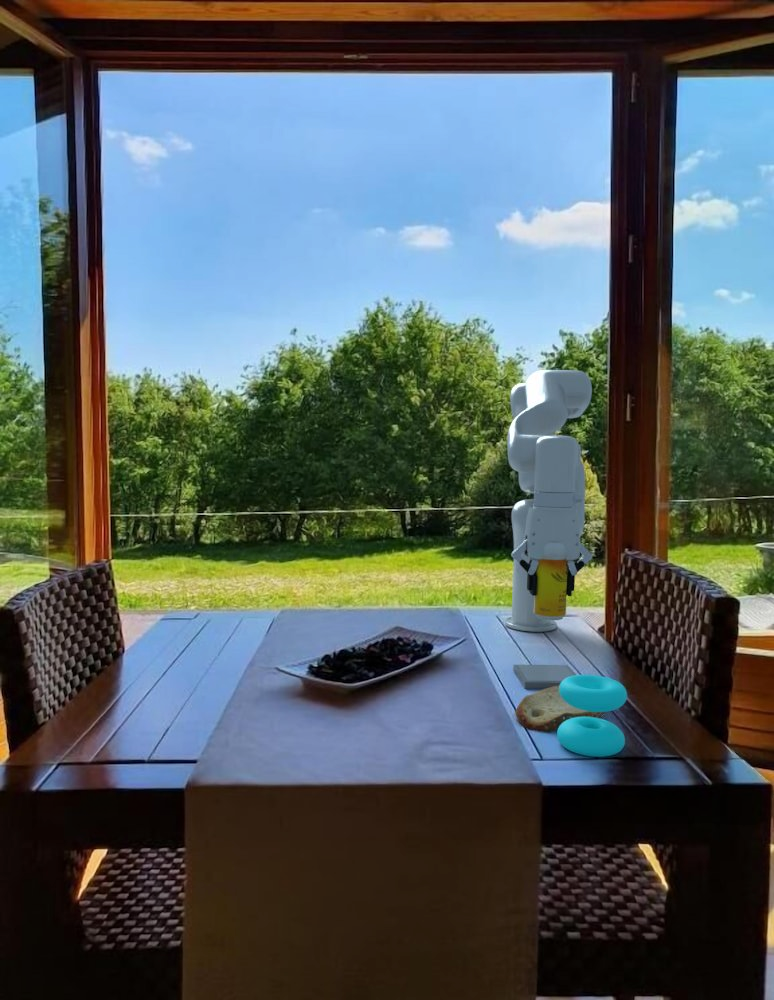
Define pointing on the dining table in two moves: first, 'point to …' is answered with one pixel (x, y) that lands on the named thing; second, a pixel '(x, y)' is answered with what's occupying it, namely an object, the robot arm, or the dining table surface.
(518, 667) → the slate coaster
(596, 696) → the donuts
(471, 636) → the dining table surface
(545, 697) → the bread slice
